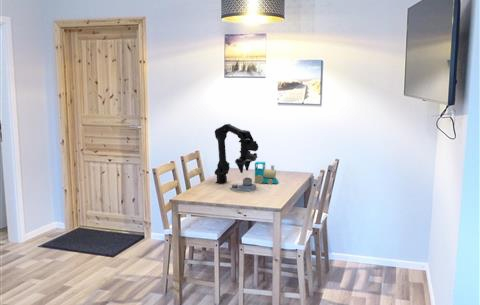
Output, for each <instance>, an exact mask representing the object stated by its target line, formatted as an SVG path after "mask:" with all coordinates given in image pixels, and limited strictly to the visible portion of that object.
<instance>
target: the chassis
mask: <svg viewBox="0 0 480 305" xmlns="http://www.w3.org/2000/svg"><path fill="white" fill-rule="evenodd" d="M256 189H257V183H256V184H255V183H252V186H244V185H243V184H231V187H230V188H229V190H233V191H239V192H240V191H241V192H248V193H249V192H250V193H251V192H252V191H255V190H256Z"/></svg>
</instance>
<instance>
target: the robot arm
mask: <svg viewBox="0 0 480 305" xmlns="http://www.w3.org/2000/svg"><path fill="white" fill-rule="evenodd" d="M228 133H231V134H234V135H236V136H237V137H238V139H239V141H238V143H240V150H239V153H240V156H239V157H238V158H236V159H235V160H234V163H235V164H236V166H237V168H238V170H239V172H240V174H243V171H244V168H245V170H246V172H247V171H249V168H250V165H251V163H252V162H255V161H256V160H257V158H258V154H257V153H256V152H258V150H259V144H258V143H257V140H254V138H253V136H252V134H251V131H249V130H245V129H240V128H238V127H236V126H234V125H232V124H230V123H225V124H224V125H222V126H220V127H218V128H216V129H215V130H214V136H215V139H216V141H217V147H218V158H219V159H218V162H217V165H216V166H217V167H216V169H215V170H214V175H215V176H216V182H215V184H222V185H223V184H226V183H227V182H228V176H227V175H228V174H229V171H230V162H228V161H227V155H226V139H227V136H228V135H227V134H228ZM251 152H254V153H251ZM256 162H257V161H256Z"/></svg>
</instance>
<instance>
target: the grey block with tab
mask: <svg viewBox="0 0 480 305" xmlns="http://www.w3.org/2000/svg"><path fill="white" fill-rule="evenodd" d="M252 184H253V179H252V178H251V177H248V176H247V177H244V178H243V179H242V185H244V186H252Z"/></svg>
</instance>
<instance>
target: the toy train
mask: <svg viewBox="0 0 480 305" xmlns="http://www.w3.org/2000/svg"><path fill="white" fill-rule="evenodd" d="M258 165H262V168H258ZM276 176H277V170H276V169H275V165H274V164H272V165H270V168H269V169H267V168H266V161H256V162H254V183H256V184H260V185H261V184H262V183H264V184H265V183H267V184H268V185H273V184H278V183H279V182H280V181H279V180H278V179H277V178H276Z"/></svg>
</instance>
